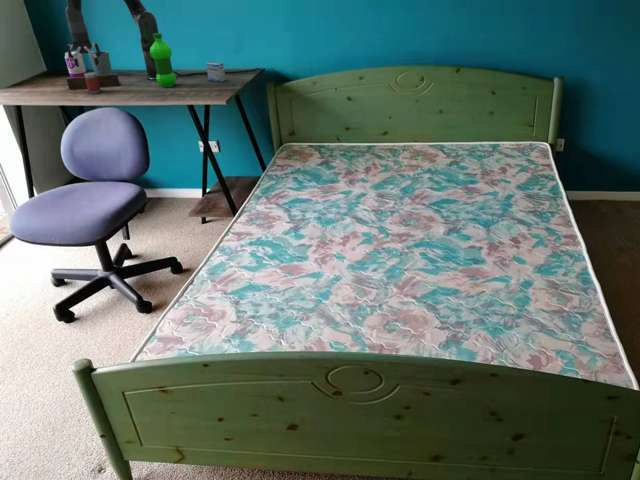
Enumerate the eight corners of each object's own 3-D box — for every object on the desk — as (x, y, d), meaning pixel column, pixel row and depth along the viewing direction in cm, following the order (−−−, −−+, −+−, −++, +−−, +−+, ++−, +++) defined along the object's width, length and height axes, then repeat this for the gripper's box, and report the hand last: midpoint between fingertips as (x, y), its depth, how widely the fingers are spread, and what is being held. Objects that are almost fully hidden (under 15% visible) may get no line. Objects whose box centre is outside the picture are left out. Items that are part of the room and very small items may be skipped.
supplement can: (83, 84, 311) (74, 54, 303) (69, 84, 313) (60, 54, 305) (92, 80, 318) (84, 51, 310) (78, 80, 319) (70, 50, 311)
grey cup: (96, 78, 321) (89, 55, 314) (93, 74, 328) (86, 52, 322) (115, 76, 325) (109, 53, 319) (112, 72, 333) (106, 49, 326)
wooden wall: (119, 83, 312) (117, 72, 309) (119, 85, 309) (116, 74, 306) (70, 87, 307) (67, 76, 304) (69, 89, 303) (66, 78, 300)
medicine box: (208, 81, 312) (205, 63, 307) (213, 78, 315) (210, 61, 311) (221, 82, 309) (218, 64, 304) (226, 80, 313) (223, 62, 308)
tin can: (101, 90, 301) (96, 72, 296) (100, 93, 296) (95, 74, 292) (89, 91, 300) (84, 73, 295) (88, 94, 295) (83, 75, 290)
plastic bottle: (157, 89, 300) (145, 36, 287) (157, 84, 309) (146, 32, 295) (177, 87, 302) (167, 35, 289) (177, 82, 311) (167, 31, 297)
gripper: (61, 33, 278) (71, 69, 287) (93, 31, 281) (102, 66, 290) (63, 30, 284) (73, 65, 293) (95, 28, 287) (103, 63, 296)
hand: (87, 66), depth 291 cm, fingers open, 8 cm apart
